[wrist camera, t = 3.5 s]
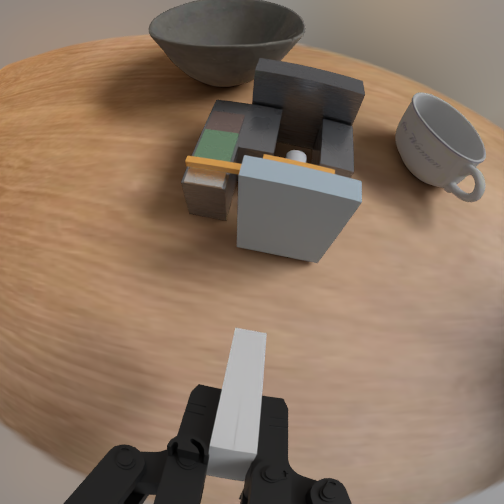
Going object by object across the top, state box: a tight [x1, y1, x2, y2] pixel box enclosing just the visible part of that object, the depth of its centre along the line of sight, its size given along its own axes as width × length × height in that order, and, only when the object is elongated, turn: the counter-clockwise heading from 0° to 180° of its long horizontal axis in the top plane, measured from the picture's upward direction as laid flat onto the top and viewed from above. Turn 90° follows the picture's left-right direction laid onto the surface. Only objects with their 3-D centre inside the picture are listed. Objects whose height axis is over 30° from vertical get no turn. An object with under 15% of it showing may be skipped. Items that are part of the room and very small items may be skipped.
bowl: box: [149, 0, 305, 87], centre depth 30 cm, size 19×19×10 cm
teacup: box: [395, 93, 486, 202], centre depth 27 cm, size 14×11×8 cm
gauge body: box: [181, 58, 365, 221], centre depth 25 cm, size 14×13×9 cm
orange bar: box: [185, 154, 335, 175], centre depth 21 cm, size 11×1×2 cm, turn 79°
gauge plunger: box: [237, 150, 362, 263], centre depth 22 cm, size 7×8×10 cm
